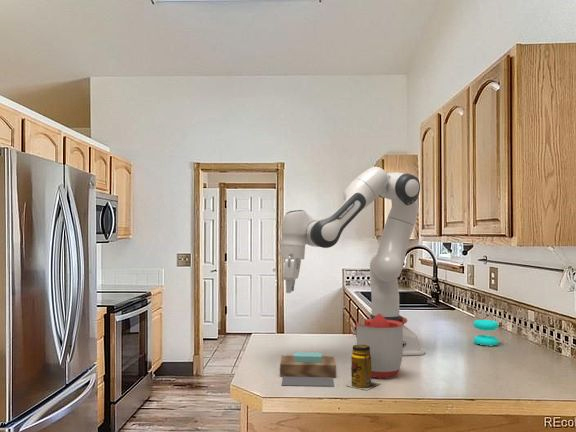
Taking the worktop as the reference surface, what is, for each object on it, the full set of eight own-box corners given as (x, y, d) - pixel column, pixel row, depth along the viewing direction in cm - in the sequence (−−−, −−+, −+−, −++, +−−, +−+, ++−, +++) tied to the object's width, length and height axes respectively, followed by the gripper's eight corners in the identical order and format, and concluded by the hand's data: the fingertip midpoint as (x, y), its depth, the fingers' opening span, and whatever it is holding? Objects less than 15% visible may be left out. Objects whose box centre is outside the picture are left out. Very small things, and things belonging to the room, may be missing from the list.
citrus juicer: (366, 364, 174) (366, 308, 175) (411, 373, 163) (411, 313, 164) (342, 373, 162) (342, 313, 163) (389, 384, 151) (389, 318, 152)
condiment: (345, 385, 149) (345, 346, 150) (360, 380, 156) (360, 341, 156) (366, 390, 145) (366, 349, 145) (380, 384, 151) (380, 345, 152)
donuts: (468, 319, 213) (486, 318, 216) (468, 343, 212) (486, 341, 216) (484, 323, 203) (503, 322, 207) (485, 347, 203) (504, 346, 206)
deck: (334, 368, 169) (334, 356, 170) (335, 377, 157) (335, 365, 158) (282, 367, 170) (282, 355, 170) (280, 376, 158) (280, 364, 158)
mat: (332, 378, 157) (332, 377, 157) (334, 386, 148) (334, 385, 148) (283, 377, 158) (283, 376, 158) (281, 385, 149) (281, 384, 149)
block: (321, 358, 167) (321, 352, 167) (321, 362, 161) (321, 356, 161) (294, 357, 167) (294, 351, 167) (294, 362, 161) (294, 356, 161)
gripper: (298, 254, 168) (296, 294, 167) (303, 254, 188) (300, 291, 187) (280, 252, 169) (277, 293, 168) (287, 253, 189) (284, 289, 188)
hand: (289, 292), depth 178 cm, fingers open, 8 cm apart
